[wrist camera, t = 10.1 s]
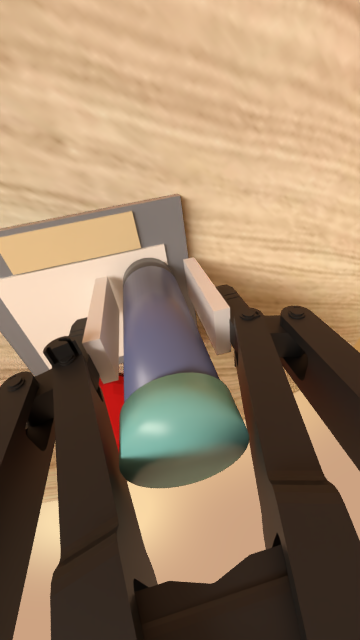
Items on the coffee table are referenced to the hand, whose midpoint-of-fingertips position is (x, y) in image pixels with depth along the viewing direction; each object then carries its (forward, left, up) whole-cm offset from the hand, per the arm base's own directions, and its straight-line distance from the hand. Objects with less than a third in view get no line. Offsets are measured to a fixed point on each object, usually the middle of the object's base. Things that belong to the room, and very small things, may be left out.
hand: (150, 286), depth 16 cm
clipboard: (-4, -1, -2) cm, 4 cm away
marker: (0, 0, -1) cm, 1 cm away
